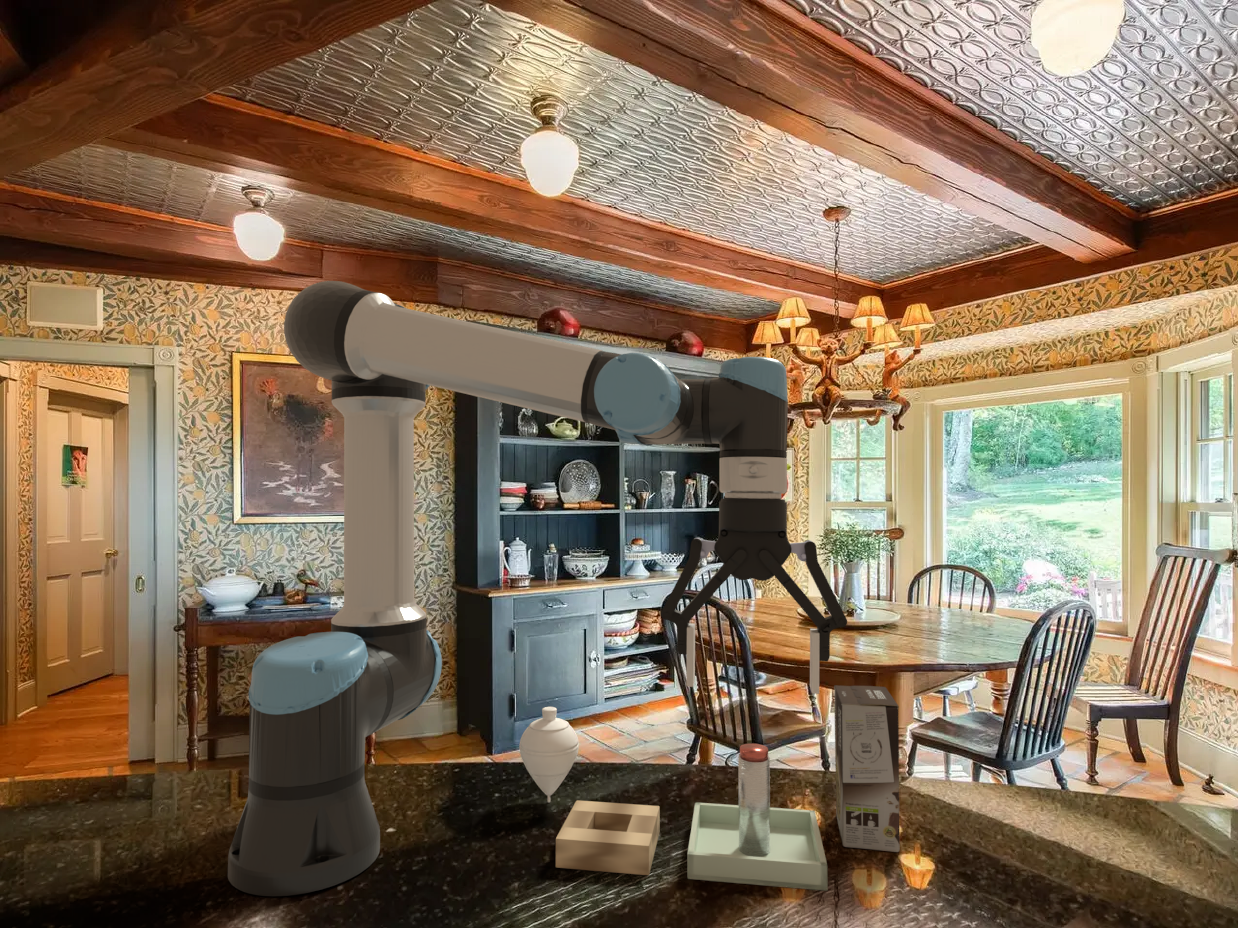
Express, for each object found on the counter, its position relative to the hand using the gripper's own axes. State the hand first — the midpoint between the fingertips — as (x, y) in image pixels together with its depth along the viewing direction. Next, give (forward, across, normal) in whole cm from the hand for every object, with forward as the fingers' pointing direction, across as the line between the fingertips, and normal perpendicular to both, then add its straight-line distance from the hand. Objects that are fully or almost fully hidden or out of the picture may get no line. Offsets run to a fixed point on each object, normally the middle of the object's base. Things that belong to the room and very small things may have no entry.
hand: (751, 687), depth 82 cm
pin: (+18, 0, 0) cm, 18 cm away
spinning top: (+19, -26, +10) cm, 33 cm away
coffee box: (+18, +14, +8) cm, 24 cm away
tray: (+18, 0, 0) cm, 18 cm away
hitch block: (+18, -16, -2) cm, 24 cm away
